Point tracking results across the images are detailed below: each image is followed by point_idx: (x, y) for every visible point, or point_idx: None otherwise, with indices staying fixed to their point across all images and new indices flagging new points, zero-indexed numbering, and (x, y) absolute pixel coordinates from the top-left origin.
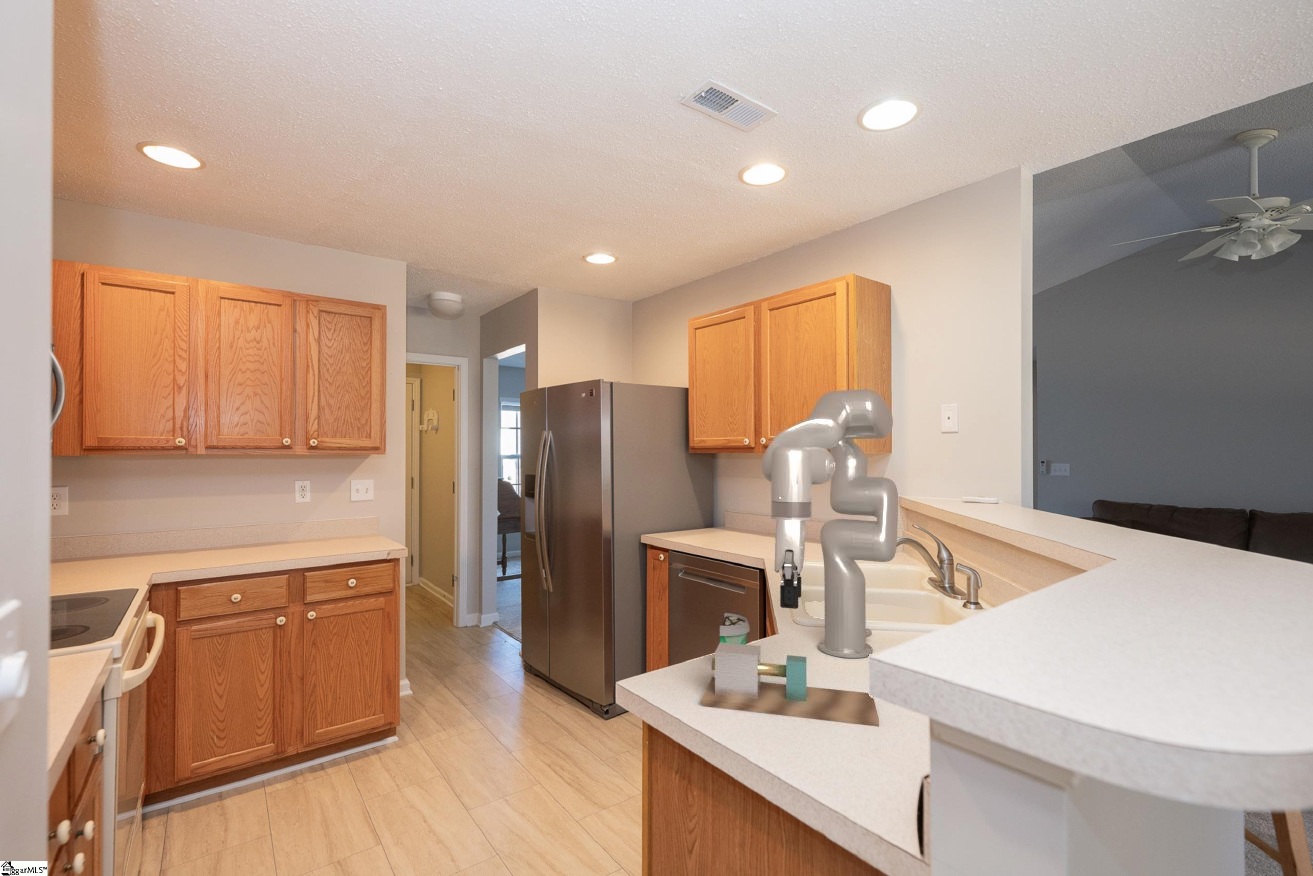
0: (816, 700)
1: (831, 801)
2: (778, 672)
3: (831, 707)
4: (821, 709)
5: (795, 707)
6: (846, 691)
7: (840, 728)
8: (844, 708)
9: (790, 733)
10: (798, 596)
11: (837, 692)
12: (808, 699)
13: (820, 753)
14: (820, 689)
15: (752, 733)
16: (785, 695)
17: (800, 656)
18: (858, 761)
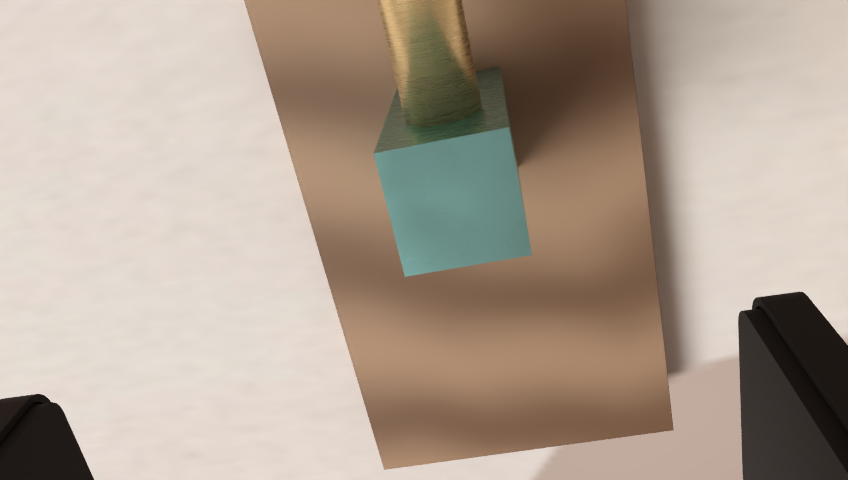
0: None
1: None
2: (393, 70)
3: (410, 299)
4: (363, 265)
5: (318, 154)
6: (650, 331)
7: (290, 334)
8: (427, 348)
9: (120, 168)
10: (747, 475)
11: (619, 296)
12: None
13: (33, 302)
14: (626, 217)
15: (9, 14)
16: None
17: (519, 219)
18: None
